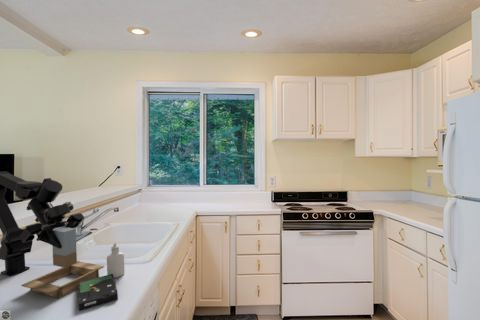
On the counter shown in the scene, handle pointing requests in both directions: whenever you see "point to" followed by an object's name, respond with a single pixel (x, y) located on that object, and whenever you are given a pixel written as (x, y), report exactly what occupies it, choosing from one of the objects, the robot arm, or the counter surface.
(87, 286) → the disk drive
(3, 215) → the robot arm
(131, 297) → the counter surface
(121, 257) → the eye dropper bottle
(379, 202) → the counter surface
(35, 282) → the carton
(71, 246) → the box
